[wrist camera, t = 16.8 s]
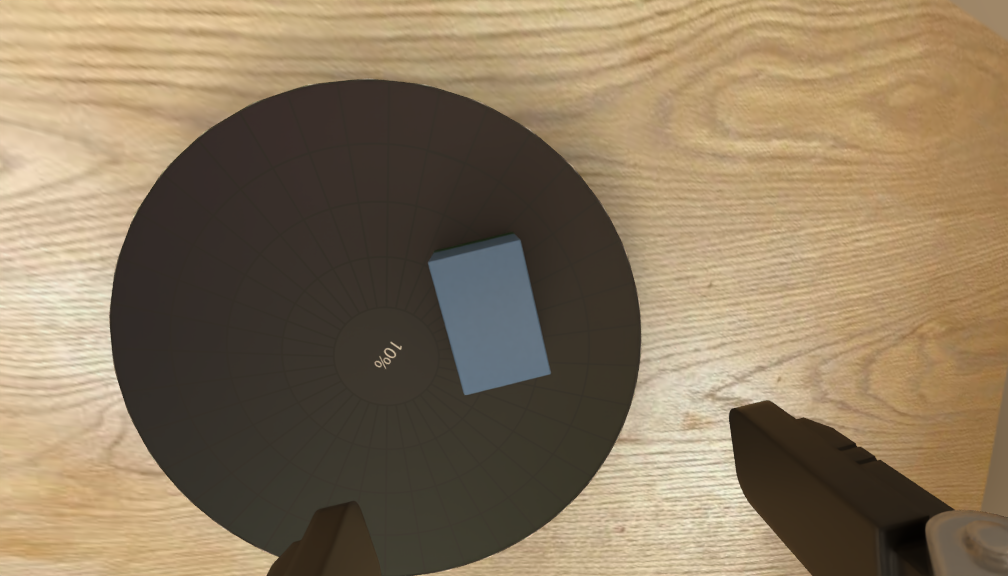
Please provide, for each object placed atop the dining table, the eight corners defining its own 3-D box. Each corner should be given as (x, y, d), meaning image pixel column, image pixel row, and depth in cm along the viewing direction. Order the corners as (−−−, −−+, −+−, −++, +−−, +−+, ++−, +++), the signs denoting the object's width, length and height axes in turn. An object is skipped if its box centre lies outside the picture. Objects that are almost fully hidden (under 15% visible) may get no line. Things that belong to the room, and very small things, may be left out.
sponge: (433, 250, 26) (427, 261, 22) (513, 231, 26) (520, 239, 22) (465, 366, 27) (464, 396, 23) (540, 348, 27) (551, 374, 23)
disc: (487, 604, 34) (489, 643, 31) (72, 436, 30) (28, 463, 27) (712, 248, 30) (738, 254, 27) (267, -18, 25) (240, -45, 22)
